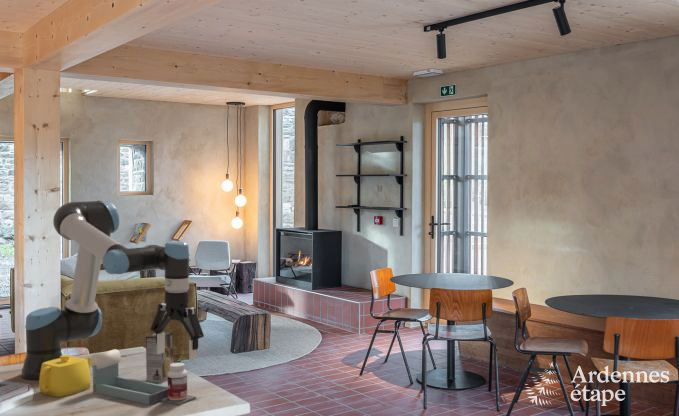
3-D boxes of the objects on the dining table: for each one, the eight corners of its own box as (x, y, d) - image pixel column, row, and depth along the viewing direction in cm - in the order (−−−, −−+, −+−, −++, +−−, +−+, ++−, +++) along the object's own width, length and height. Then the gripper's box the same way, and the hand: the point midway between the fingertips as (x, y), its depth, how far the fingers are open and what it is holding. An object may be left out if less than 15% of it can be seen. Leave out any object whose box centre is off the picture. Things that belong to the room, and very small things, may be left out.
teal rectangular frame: (89, 391, 244) (88, 354, 244) (112, 383, 253) (111, 348, 252) (150, 404, 231) (150, 365, 230) (172, 396, 239) (172, 358, 238)
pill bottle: (169, 395, 238) (168, 362, 238) (188, 394, 239) (187, 361, 238) (166, 401, 232) (166, 367, 231) (186, 400, 233) (186, 366, 232)
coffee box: (157, 374, 265) (157, 330, 264) (174, 375, 263) (173, 331, 262) (145, 381, 256) (145, 336, 255) (163, 382, 254) (162, 337, 253)
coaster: (159, 401, 234) (159, 399, 234) (177, 394, 241) (177, 392, 241) (178, 405, 230) (178, 403, 230) (195, 398, 237) (195, 396, 237)
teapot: (80, 379, 258) (80, 346, 258) (104, 385, 252) (103, 351, 251) (29, 394, 242) (29, 358, 241) (53, 400, 235) (52, 364, 234)
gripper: (139, 288, 236) (139, 353, 238) (199, 296, 224) (198, 364, 225) (156, 285, 243) (156, 348, 244) (215, 293, 231) (214, 359, 232)
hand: (176, 356), depth 235 cm, fingers open, 13 cm apart
